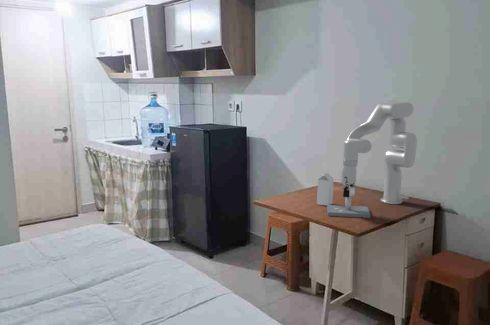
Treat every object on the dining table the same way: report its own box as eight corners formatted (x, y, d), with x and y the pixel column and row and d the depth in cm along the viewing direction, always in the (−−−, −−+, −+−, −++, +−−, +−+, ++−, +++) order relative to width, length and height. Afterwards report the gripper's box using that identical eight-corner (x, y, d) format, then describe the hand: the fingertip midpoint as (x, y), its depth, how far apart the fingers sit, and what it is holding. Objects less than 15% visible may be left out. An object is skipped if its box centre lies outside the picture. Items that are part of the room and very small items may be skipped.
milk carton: (332, 203, 252) (334, 172, 249) (328, 206, 246) (329, 174, 243) (321, 201, 256) (322, 170, 253) (316, 204, 250) (318, 172, 247)
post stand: (366, 210, 239) (367, 192, 238) (370, 218, 225) (371, 199, 223) (326, 208, 243) (327, 190, 241) (327, 215, 228) (328, 197, 226)
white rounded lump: (352, 193, 235) (353, 185, 234) (355, 196, 229) (356, 187, 228) (342, 193, 235) (342, 185, 234) (344, 196, 229) (344, 187, 228)
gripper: (349, 160, 238) (348, 191, 241) (337, 164, 224) (335, 197, 227) (362, 161, 234) (360, 193, 237) (350, 166, 220) (349, 200, 223)
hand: (348, 195), depth 232 cm, fingers closed on white rounded lump, 6 cm apart
